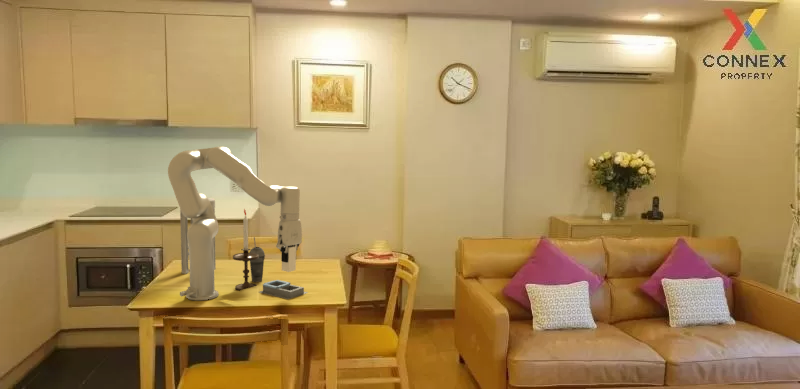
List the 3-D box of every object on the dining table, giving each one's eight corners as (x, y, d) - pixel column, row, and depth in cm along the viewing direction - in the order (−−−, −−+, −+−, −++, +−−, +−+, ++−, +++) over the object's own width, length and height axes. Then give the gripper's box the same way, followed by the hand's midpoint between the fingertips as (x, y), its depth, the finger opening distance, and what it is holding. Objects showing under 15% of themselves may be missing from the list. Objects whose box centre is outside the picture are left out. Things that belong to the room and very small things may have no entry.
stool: (175, 274, 268) (173, 200, 264) (192, 266, 283) (190, 196, 279) (206, 276, 265) (204, 201, 261) (221, 268, 281) (220, 197, 276)
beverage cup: (260, 283, 256) (260, 239, 254) (245, 282, 257) (245, 238, 255) (267, 279, 263) (267, 236, 261) (253, 278, 265) (252, 235, 262)
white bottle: (288, 272, 233) (289, 243, 232) (281, 270, 235) (282, 241, 234) (295, 270, 237) (296, 241, 235) (288, 268, 239) (289, 240, 237)
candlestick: (242, 293, 241) (241, 210, 237) (228, 287, 248) (227, 207, 244) (264, 288, 249) (263, 208, 245) (250, 283, 256) (249, 205, 252)
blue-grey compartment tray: (288, 302, 230) (288, 291, 229) (258, 294, 239) (258, 284, 238) (308, 295, 240) (308, 285, 239) (278, 288, 249) (278, 278, 248)
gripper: (281, 220, 224) (281, 266, 227) (310, 215, 238) (309, 258, 241) (268, 218, 228) (267, 263, 231) (297, 213, 242) (296, 256, 245)
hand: (288, 260), depth 236 cm, fingers closed on white bottle, 4 cm apart
